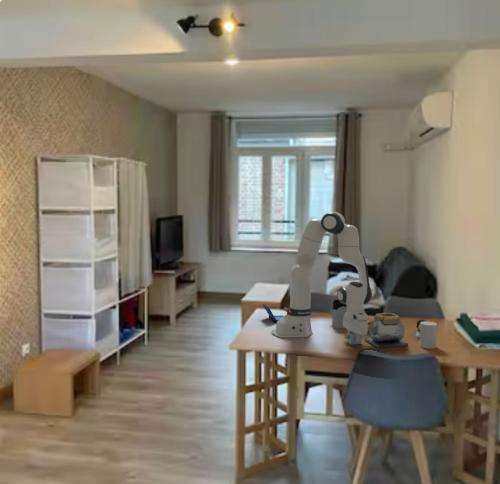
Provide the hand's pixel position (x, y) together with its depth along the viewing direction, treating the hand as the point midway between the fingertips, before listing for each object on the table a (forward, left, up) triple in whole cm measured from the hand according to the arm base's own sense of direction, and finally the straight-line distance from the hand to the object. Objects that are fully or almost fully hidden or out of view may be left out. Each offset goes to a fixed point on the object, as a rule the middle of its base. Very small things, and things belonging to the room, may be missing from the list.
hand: (354, 339), depth 284 cm
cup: (+34, -15, -2) cm, 37 cm away
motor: (+16, -5, -2) cm, 17 cm away
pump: (0, 0, -2) cm, 2 cm away
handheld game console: (-22, +56, -2) cm, 60 cm away
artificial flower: (+45, +5, -2) cm, 45 cm away
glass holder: (+8, +36, -2) cm, 37 cm away
